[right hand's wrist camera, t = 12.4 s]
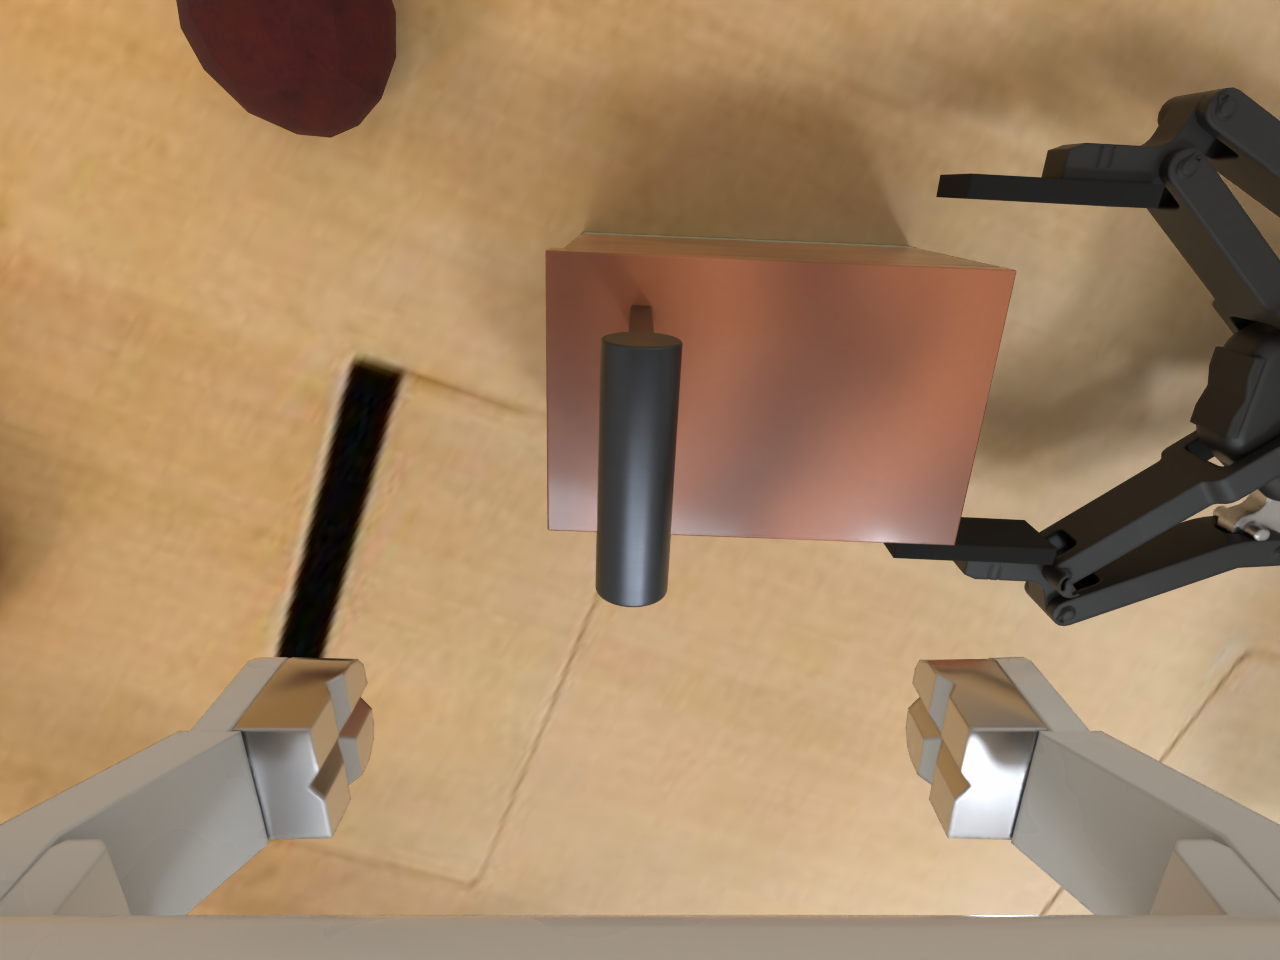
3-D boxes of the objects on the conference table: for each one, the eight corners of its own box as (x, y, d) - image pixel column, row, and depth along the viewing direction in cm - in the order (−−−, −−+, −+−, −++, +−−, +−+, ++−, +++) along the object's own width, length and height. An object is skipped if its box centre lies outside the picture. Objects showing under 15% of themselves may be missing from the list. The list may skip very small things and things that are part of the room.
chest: (580, 441, 36) (561, 520, 28) (582, 232, 33) (561, 247, 24) (874, 453, 37) (945, 535, 28) (909, 246, 33) (1004, 266, 24)
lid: (550, 520, 28) (514, 649, 20) (548, 248, 24) (504, 277, 16) (945, 535, 28) (1062, 669, 20) (1004, 267, 24) (1175, 305, 16)
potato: (392, -92, 28) (317, -177, 22) (440, 129, 31) (387, 113, 24) (209, -61, 28) (80, -135, 22) (272, 155, 31) (175, 146, 25)
